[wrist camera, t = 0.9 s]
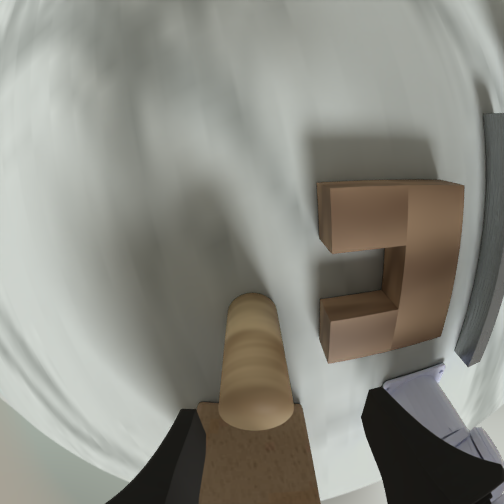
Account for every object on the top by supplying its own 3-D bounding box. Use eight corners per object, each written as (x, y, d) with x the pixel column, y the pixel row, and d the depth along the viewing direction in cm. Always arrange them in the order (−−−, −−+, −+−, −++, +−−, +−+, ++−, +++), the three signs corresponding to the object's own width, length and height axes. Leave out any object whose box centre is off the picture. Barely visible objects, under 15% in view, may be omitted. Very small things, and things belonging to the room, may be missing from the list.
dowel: (278, 331, 21) (294, 426, 12) (231, 336, 21) (225, 432, 12) (275, 290, 20) (293, 383, 11) (224, 295, 20) (211, 390, 11)
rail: (466, 346, 23) (480, 361, 20) (454, 350, 23) (468, 367, 20) (495, 117, 15) (517, 117, 12) (482, 113, 15) (506, 113, 12)
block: (424, 317, 21) (440, 336, 18) (319, 339, 21) (328, 363, 18) (439, 179, 17) (464, 185, 14) (316, 182, 17) (330, 188, 14)
